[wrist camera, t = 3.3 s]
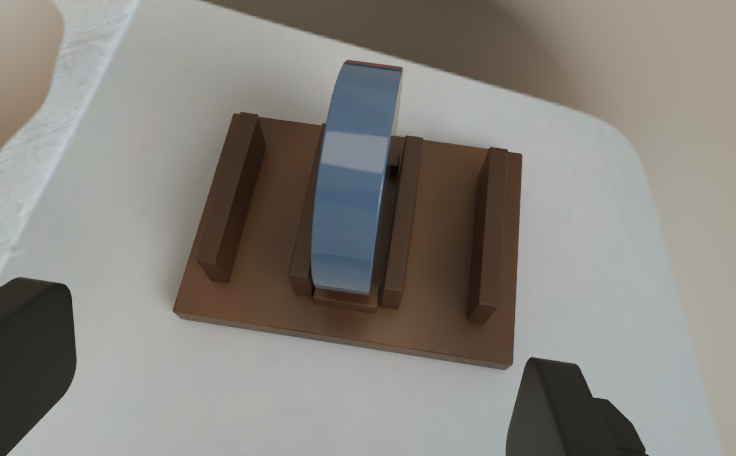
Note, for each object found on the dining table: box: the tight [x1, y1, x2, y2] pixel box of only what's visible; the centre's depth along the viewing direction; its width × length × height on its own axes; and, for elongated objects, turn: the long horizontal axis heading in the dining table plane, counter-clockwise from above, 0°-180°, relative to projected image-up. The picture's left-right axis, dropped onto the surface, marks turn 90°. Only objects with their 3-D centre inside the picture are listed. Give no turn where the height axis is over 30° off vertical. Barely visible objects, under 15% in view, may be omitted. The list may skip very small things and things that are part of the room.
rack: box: [173, 112, 522, 370], centre depth 24 cm, size 14×10×4 cm
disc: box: [311, 60, 403, 296], centre depth 21 cm, size 2×8×8 cm, turn 171°
